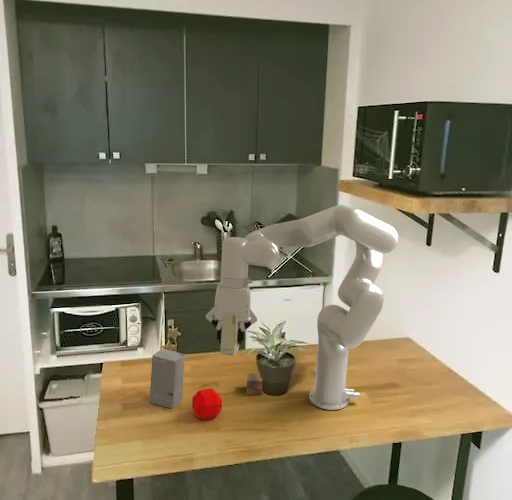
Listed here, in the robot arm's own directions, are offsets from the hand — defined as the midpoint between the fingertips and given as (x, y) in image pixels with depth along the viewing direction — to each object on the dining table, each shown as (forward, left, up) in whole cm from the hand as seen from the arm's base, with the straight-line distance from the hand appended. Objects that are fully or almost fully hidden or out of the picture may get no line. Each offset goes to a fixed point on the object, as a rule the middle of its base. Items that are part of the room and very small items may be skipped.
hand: (230, 341), depth 151 cm
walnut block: (-8, -16, -24) cm, 30 cm away
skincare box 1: (+19, -7, -24) cm, 32 cm away
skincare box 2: (0, 0, -3) cm, 3 cm away
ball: (+6, 0, -24) cm, 25 cm away
